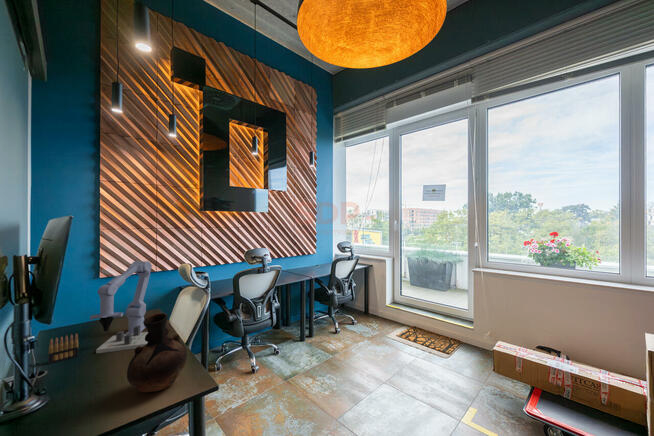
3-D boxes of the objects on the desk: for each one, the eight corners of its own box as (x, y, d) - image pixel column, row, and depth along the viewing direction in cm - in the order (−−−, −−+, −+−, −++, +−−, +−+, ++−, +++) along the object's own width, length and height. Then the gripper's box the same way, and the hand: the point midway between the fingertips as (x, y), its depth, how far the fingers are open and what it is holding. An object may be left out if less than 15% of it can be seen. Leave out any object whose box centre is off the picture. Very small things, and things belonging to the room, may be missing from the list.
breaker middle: (118, 339, 148) (118, 331, 148) (123, 338, 149) (123, 330, 149) (116, 341, 145) (116, 333, 145) (121, 340, 146) (121, 332, 146)
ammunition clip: (48, 364, 125) (48, 339, 126) (48, 363, 127) (48, 338, 127) (78, 356, 133) (79, 333, 133) (78, 355, 134) (78, 332, 134)
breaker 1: (126, 342, 144) (126, 334, 144) (131, 341, 145) (131, 333, 145) (124, 344, 141) (124, 336, 141) (129, 343, 142) (129, 335, 142)
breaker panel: (113, 339, 153) (113, 335, 153) (155, 334, 160) (155, 330, 160) (96, 353, 136) (96, 349, 136) (144, 347, 142) (144, 343, 143)
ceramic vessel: (181, 369, 121) (182, 304, 122) (191, 386, 108) (192, 314, 108) (124, 388, 107) (126, 315, 108) (128, 411, 94) (129, 327, 95)
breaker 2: (135, 333, 155) (135, 326, 155) (140, 333, 156) (140, 325, 156) (133, 335, 152) (133, 328, 153) (138, 335, 153) (138, 327, 153)
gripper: (87, 309, 139) (86, 335, 139) (119, 307, 144) (118, 331, 143) (94, 305, 146) (94, 330, 146) (124, 303, 150) (124, 327, 150)
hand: (106, 330), depth 145 cm, fingers closed
